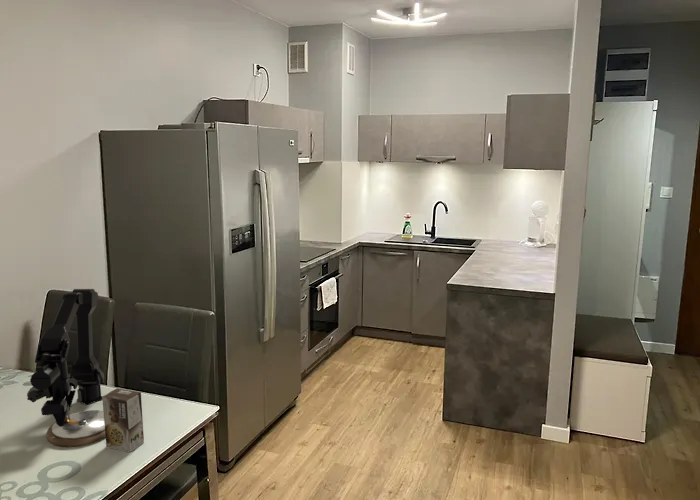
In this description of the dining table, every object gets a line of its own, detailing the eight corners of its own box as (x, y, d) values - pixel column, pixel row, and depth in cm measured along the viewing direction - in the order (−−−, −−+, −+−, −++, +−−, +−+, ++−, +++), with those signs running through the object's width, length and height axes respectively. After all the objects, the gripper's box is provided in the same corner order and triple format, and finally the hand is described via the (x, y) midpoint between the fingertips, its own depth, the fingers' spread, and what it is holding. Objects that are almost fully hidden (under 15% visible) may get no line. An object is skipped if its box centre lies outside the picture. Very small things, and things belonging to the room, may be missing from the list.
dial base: (96, 409, 189) (96, 405, 188) (130, 427, 177) (130, 422, 177) (34, 433, 173) (34, 428, 172) (68, 454, 161) (67, 449, 161)
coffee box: (145, 442, 168) (142, 391, 165) (130, 453, 162) (127, 400, 159) (120, 437, 171) (117, 387, 168) (104, 447, 165) (101, 395, 162)
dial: (122, 414, 182) (121, 397, 181) (94, 441, 165) (93, 422, 164) (72, 411, 184) (71, 394, 183) (39, 437, 167) (38, 419, 166)
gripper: (37, 364, 178) (43, 409, 181) (18, 391, 160) (25, 440, 163) (75, 361, 180) (80, 405, 184) (61, 387, 163) (67, 435, 166)
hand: (63, 421), depth 174 cm, fingers open, 6 cm apart
